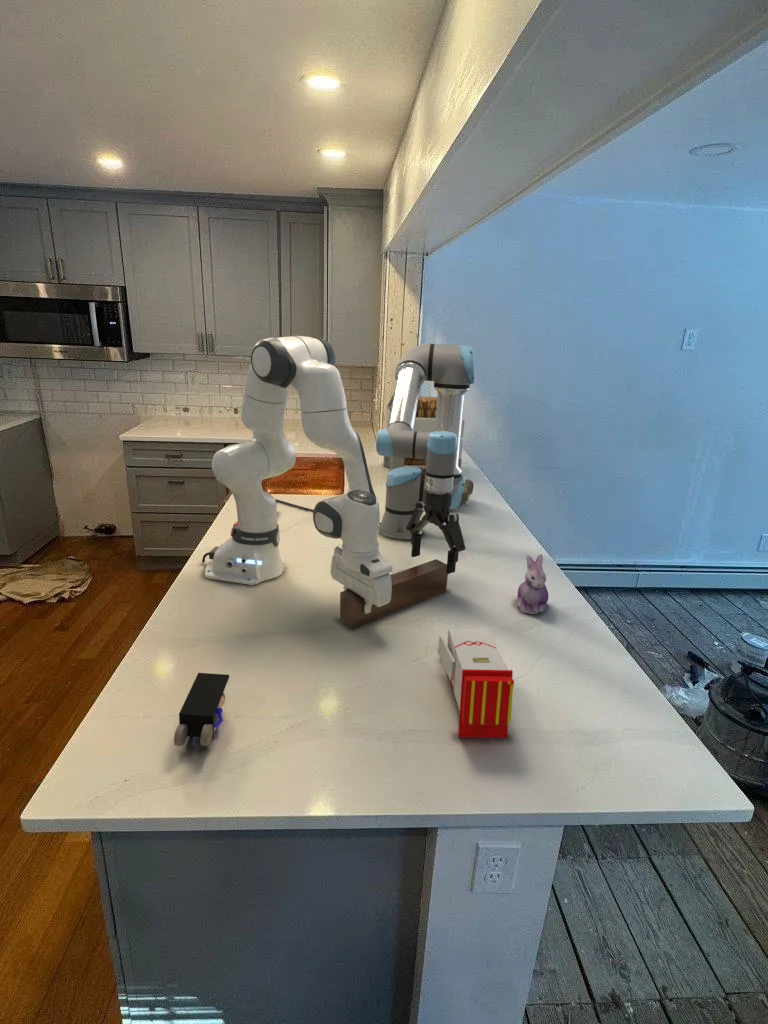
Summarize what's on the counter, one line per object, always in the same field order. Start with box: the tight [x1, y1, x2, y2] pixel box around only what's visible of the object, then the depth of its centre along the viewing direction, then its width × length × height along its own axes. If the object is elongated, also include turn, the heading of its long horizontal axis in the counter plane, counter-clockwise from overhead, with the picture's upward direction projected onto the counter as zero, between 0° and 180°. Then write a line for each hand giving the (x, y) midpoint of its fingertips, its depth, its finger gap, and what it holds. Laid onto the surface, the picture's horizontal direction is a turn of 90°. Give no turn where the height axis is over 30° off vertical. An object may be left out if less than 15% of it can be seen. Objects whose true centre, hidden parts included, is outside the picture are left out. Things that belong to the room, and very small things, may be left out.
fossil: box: [449, 478, 475, 512], centre depth 232 cm, size 22×10×15 cm
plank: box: [339, 558, 449, 630], centre depth 151 cm, size 5×34×8 cm, turn 131°
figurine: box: [516, 553, 549, 615], centre depth 151 cm, size 9×10×15 cm
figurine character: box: [173, 672, 230, 751], centre depth 104 cm, size 7×8×15 cm
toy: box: [437, 628, 515, 738], centre depth 117 cm, size 12×13×30 cm
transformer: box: [383, 393, 465, 472], centre depth 268 cm, size 34×33×41 cm
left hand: (358, 607), depth 143 cm, fingers closed on plank, 5 cm apart
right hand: (432, 564), depth 157 cm, fingers open, 13 cm apart
